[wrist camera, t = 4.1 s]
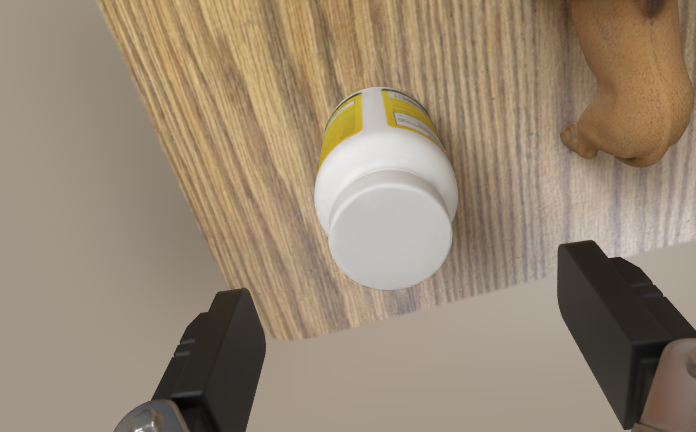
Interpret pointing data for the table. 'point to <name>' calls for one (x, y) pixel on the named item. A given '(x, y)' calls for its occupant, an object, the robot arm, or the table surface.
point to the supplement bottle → (385, 190)
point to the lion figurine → (631, 80)
